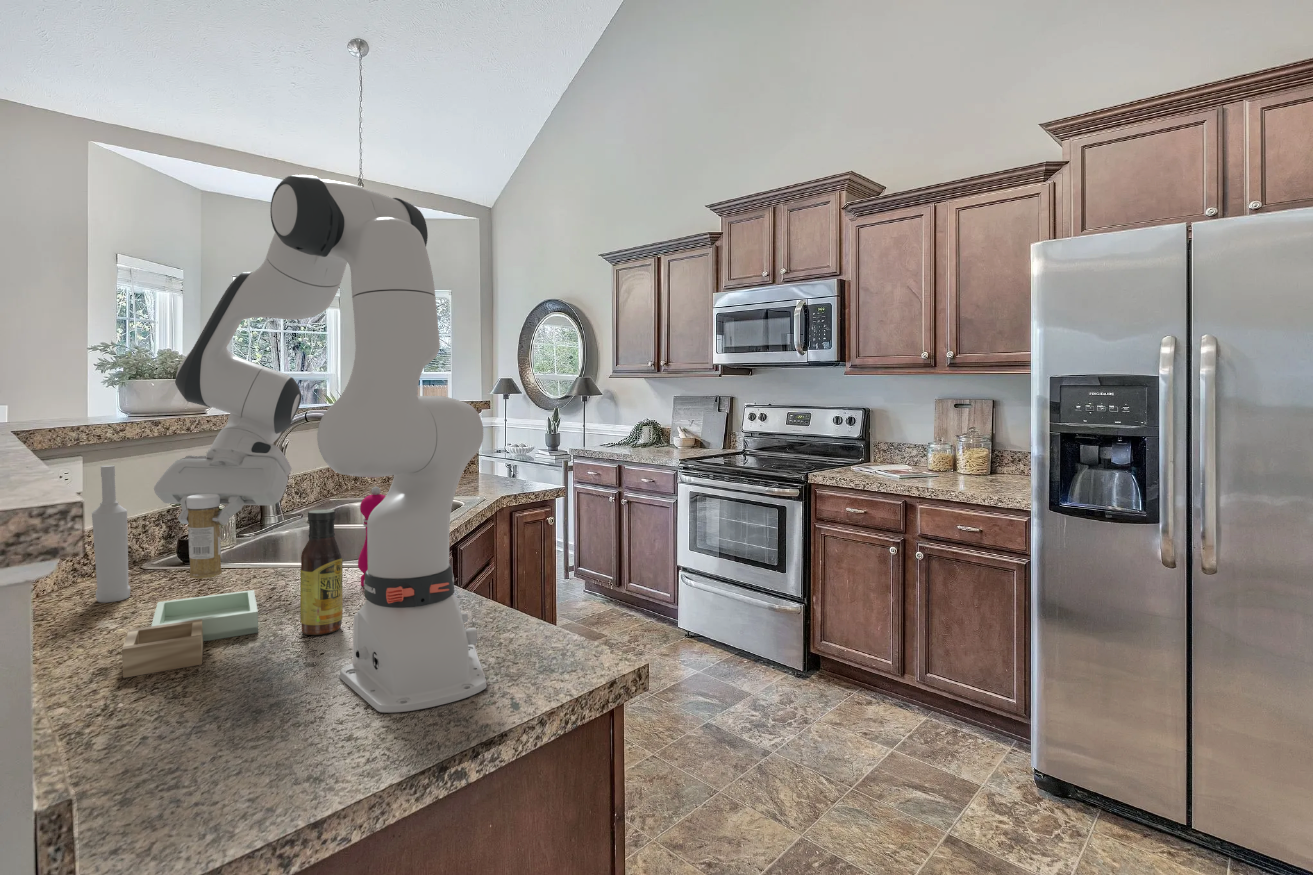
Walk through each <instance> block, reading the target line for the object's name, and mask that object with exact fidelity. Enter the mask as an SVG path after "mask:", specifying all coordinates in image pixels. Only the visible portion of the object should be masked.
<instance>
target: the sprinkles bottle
mask: <svg viewBox="0 0 1313 875" xmlns="http://www.w3.org/2000/svg"><path fill="white" fill-rule="evenodd" d="M220 506H221V504H220V496H219V495H217V494H198V495H192V496H188V497H187V508H188V509H187V510H188V522H189V524H188V526H187V528H188V530H187V531H188V532H187V533H188V555H189V556H188V557H189V577H190V578H191V579H196V580H197V579H199V580H202V579H210V578H215V577H218V576H220V575H221V574H222V572H223V570H222V563H221V559H222V558H221V555H222V549H221V533H220V531H221V529H220V525H216V524H215V522H213V520H212V518H213V516H215V512H216V511H220V510H219V509H220Z"/></svg>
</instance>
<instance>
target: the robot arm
mask: <svg viewBox="0 0 1313 875" xmlns="http://www.w3.org/2000/svg"><path fill="white" fill-rule="evenodd" d="M270 201H271V202H270V220H271V225H272V229H273V230H274V234H273V237H272V239H271V242H270V244H269V246H268V247H269V248H268V251H267V253H266V256H265V258H264V261H263V263H262V264H261V265H260V266H259V267H258V268H257V269H256V270H254V271H243V272H241V273H240V274H238V275H237V276H236V277H235V279H233V280H232V282H230V284H229V286H228V287H227V288H226V290H225V291H224V293H223V294H222V296H221V298H220V300H219V301H218V303H217V304H216V306H215V308H214V309H213V311H212V313H211V315H210V317H209V319H208V321H207V322H206V324H205V326H203V329H202V331H201V332H200V334H199V336H198V339H197V341H196V342H195V344H194V346H193V347H192V349H191V350H190V351H189V353H187V355H186V356H185V357H184V359H183V360H182V361H181V362H180V364H179V366H178V368H177V371H176V374H175V381H174V383H175V386H176V388H177V390H178V391H179V393H180V394H181V395H182V397H183V398H184V400H186V402H188V403H192V404H196V405H200V406H204V407H208V408H214V409H216V410H220V411H222V412H226V413H228V414H229V415H228V418H227V423H226V425H225V426H224V427H222V428H221V429H220V431H219V432H218V433H217V436H216V437H215V439H214V441H213V442H212V443H211V446H210V447H209V449H208V451H207V452H206V455H191V454H189V455H186V456H185V457H182V458H180V459H176V460H175V461H174V462H173V463H172V464H171V465H170V466H168V468H167V469H166V471H165V472H163V474H162V475H161V476H160V478H159V479H158V481H157V482H156V483H155V485H154V487H153V490H154V493H155V495H156V496H157V497H158V499H160V500H161V501H162V502H163V503H164V504H176V505H177V504H178V505H179V504H180V508H181V511H180V514H179V515H178V517H177V520H178V522H179V523H180V524H181V525H189V522H188V510H187V509H188V508H187V497H188V496H192V495H198V494H217V495H219V496H220V505H226V506H225V507H224V508H223V509H221V510H219V511H216V512H215V516H213V518H212V520H213V522H215V524H216V525H219V526H221V525H222V526H226V525H227V524H228V522H229V520H230V518H232V517H233V516H234V515H236V514H238V513H239V511H241V510H242V509H243V508H244V506H275V505H276V504H277V503H279V502H280V501H281V500H282V498H283V495H284V493H285V490H286V488H287V485H288V482H289V478H288V476H289V474H290V473H291V471H292V470H293V469H292V466H291V464H290V462H289V460H288V459H287V457H286V456H285V454H284V453H283V452H282V450H281V449H280V448H279V447H278V446H277V445H276V444H274V443H275V442H276V441H277V440H278V439H279V438H280V436H281V434H282V433H283V432H284V431H286V430H288V429H289V428H290V425H291V423H292V422H293V419H294V418H295V417H296V414H297V412H298V410H299V407H300V405H301V402H302V393H301V390H300V387H299V385H298V383H297V382H296V380H295V379H294V377H293V376H290V375H288V374H285V373H283V372H280V371H278V370H275V369H273V368H270V367H268V366H263V365H262V364H261V365H260V364H258V363H256V362H252V361H250V360H247V359H245V358H242V357H239V356H237V355H234V354H233V353H231V352H230V351H229V350H228V345H229V344H230V342H231V340H232V339H233V337H234V335H235V333H236V331H237V330H238V328H239V326H240V325H241V323H242V321H244V320H247V319H254V318H268V319H279V320H280V319H281V320H290V321H293V320H303V319H309V318H312V317H313V318H314V317H316V316H318V315H320V314H322V313H323V312H325V311H326V310H328V309H329V307H330V306H331V304H332V303H333V300H334V299H335V297H336V295H337V293H338V291H339V288H340V285H341V283H342V281H343V277H344V275H345V274H344V273H345V271H346V267H347V264H348V265H349V269H350V284H351V285H350V286H351V296H352V297H351V298H352V310H353V322H354V323H353V324H354V343H355V349H354V352H355V353H354V360H353V366H352V369H351V370H352V371H351V372H350V373H351V374H350V377H349V380H348V382H347V384H346V386H345V389H344V390H343V392H342V393H341V395H340V396H339V398H337V400H336V401H335V402H334V403H332V405H331V406H329V408H328V409H326V411H325V412H324V413H323V415H322V416H321V419H320V421H319V425H318V427H317V433H316V435H317V436H316V438H317V439H316V440H317V446H318V450H319V452H320V455H321V457H322V459H323V460H324V462H325V463H326V464H327V466H328V467H329V468H330V469H331V470H333V471H334V472H335V473H337V474H339V475H345V476H350V477H351V476H352V477H357V478H358V477H360V478H370V479H371V478H373V479H375V478H383V477H389V476H393V478H392V482H391V484H390V487H389V489H388V491H387V493H386V495H385V498H384V499H383V500H382V501H381V502H380V503H379V504H378V505H377V506H376V507H375V508H374V509H373V511H372V512H371V514H370V515H369V518H368V521H367V552H368V570H367V571H366V572H365V580H364V587H363V589H364V598H365V599H366V600H365V602H364V603H363V605H362V607H361V608H360V609H359V610H358V611H357V612H356V613H355V614H354V615H353V625H352V629H353V630H352V632H353V633H352V662H351V663H349V664H347V665H345V666H343V667H342V668H341V669H340V670H339V679H340V680H341V681H343V682H344V683H345V684H346V685H347V686H348V687H349V688H350V689H352V691H354V692H355V693H356V694H358V696H360V697H361V698H362V699H363V700H364V701H365V702H366V703H368V704H369V705H370V706H371V707H372V708H373V709H374V710H376V711H377V712H379V713H402V712H410V711H418V710H424V709H428V708H432V707H433V708H434V707H438V706H441V705H446V704H449V703H453V702H457V701H460V700H463V699H466V698H469V697H472V696H474V695H476V694H479V693H480V692H482V691H484V690H485V689H486V688H487V687H488V686H487V680H486V676H485V673H484V670H483V667H482V664H481V661H480V659H479V655H478V653H477V650H476V646H475V645H476V644H478V631H477V628H476V627H467V628H465V624H464V623H468V620H469V617H468V612H462V611H461V607H460V598H458V597H457V596H456V595H454V594H455V577H454V576H455V575H454V573H453V566H452V565H451V564H450V535H451V534H450V530H451V529H450V525H451V524H450V522H451V515H452V514H451V513H452V507H453V502H454V498H455V495H456V492H457V489H458V485H459V484H460V483H459V482H460V480H461V477H462V475H463V473H464V471H465V469H466V468H467V466H468V464H469V462H471V460H472V459H473V458H474V457H475V456H476V454H477V453H478V452H479V450H480V448H481V446H482V444H483V440H484V426H483V421H482V419H481V416H480V414H479V412H478V411H477V410H476V408H474V407H473V406H472V405H471V404H469V403H467V402H465V401H461V400H459V399H455V398H452V397H447V396H443V395H418V394H419V393H418V392H419V391H418V390H419V384H420V378H421V375H422V373H423V370H424V369H425V366H427V365H428V364H431V362H432V361H433V360H434V359H435V358H436V357H437V355H438V354H439V352H440V348H441V343H440V342H441V341H440V330H439V320H438V310H437V300H436V289H435V284H434V283H435V282H434V277H433V276H434V275H433V271H432V265H431V261H430V257H429V253H428V250H427V243H428V237H429V236H428V227H427V222H426V219H425V217H424V214H423V213H422V211H421V210H420V209H418V208H417V206H414V204H411V203H409V202H408V201H405V200H403V199H401V198H399V197H390V196H388V195H385V194H382V193H380V192H377V191H374V190H371V189H369V188H364V187H362V186H360V185H357V184H352V183H350V182H343V181H337V180H331V179H324V178H323V179H321V178H320V177H318V176H315V175H307V174H299V175H298V174H295V175H288V176H286V177H285V178H283V179H282V180H281V181H280V182H279V184H278V185H277V186H276V187H275V189H274V192H273V194H272V197H271V200H270Z"/></svg>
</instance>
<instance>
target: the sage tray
mask: <svg viewBox="0 0 1313 875" xmlns="http://www.w3.org/2000/svg"><path fill="white" fill-rule="evenodd" d="M200 619H202V628H203V642H207V641H215V640H221V639H227V638H232V637H239V636H245V635H252V634H257V633H259V610H258V605H257V599H256V594H255V590H254V589H250V590H243V591H234V592H233V591H232V592H226V593H218V594H210V595H203V596H195V597H188V598H180V599H172V600H164V601H158V602H157V604H156V608H155V610H154V615H153V618H152V623H151V624H150V625H151V626H158V625H165V624H172V623H179V622H186V621H193V620H200ZM151 626H150V627H151Z"/></svg>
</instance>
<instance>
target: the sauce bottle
mask: <svg viewBox="0 0 1313 875" xmlns="http://www.w3.org/2000/svg"><path fill="white" fill-rule="evenodd" d="M335 520H336V511H335V510H334V509H314V510H309V511H308V512H307V521H308V523H309V524H308V526H309V528H308V541H307V543H306V545H304V548H303V549H302V551H301V553H300V554H301V555H300V564H301V566H300V573H299V574H300V592H299V593H300V596H299V597H300V600H299V602H300V610H299V611H300V613H299V614H300V619H299V621H300V623H301V633H303V634H304V635H307V636H321V635H328V634H332V633H334V632H337V631H338V630H340V628H341V627H342V620H343V589H344V588H343V587H344V586H343V557H342V556H343V555H342V554H341V551H340V549H339V545H338V543H337V540H336V537H335V536H336V534H335Z"/></svg>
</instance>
